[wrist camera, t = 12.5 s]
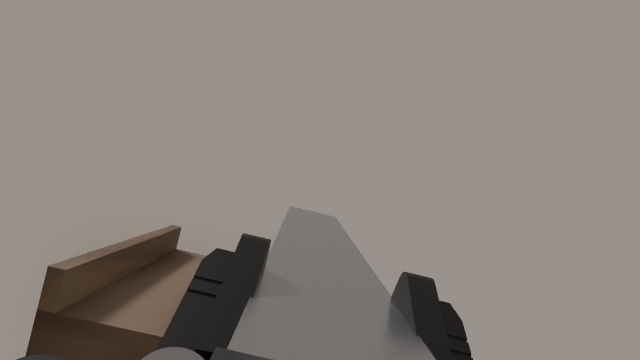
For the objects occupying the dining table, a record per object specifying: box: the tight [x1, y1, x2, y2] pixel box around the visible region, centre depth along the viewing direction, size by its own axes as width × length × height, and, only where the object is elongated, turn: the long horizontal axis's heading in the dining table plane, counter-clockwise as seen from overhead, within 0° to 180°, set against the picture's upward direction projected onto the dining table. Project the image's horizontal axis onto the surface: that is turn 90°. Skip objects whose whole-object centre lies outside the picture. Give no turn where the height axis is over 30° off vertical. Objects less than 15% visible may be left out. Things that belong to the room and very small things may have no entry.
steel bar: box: [210, 206, 436, 360], centre depth 18 cm, size 4×28×4 cm, turn 2°
